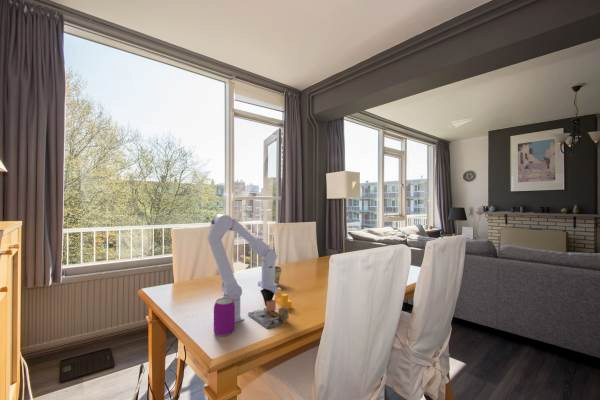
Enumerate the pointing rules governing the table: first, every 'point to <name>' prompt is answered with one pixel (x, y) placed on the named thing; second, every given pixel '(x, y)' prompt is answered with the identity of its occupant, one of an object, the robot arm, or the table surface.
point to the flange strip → (264, 319)
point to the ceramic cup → (277, 274)
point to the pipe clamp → (282, 300)
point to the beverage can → (224, 316)
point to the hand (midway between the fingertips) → (268, 305)
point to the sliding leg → (269, 306)
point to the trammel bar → (279, 315)
